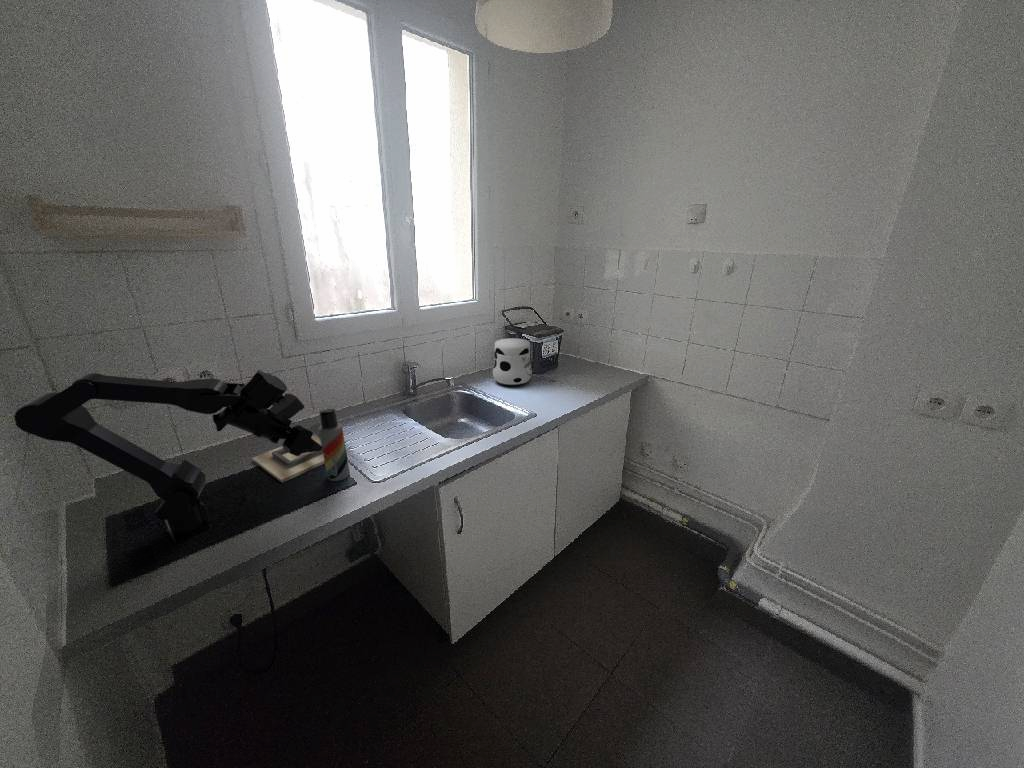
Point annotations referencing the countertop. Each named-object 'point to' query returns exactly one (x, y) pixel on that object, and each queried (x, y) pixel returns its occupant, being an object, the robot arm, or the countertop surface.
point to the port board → (289, 462)
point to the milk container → (512, 362)
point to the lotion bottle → (333, 446)
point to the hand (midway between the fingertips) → (311, 443)
